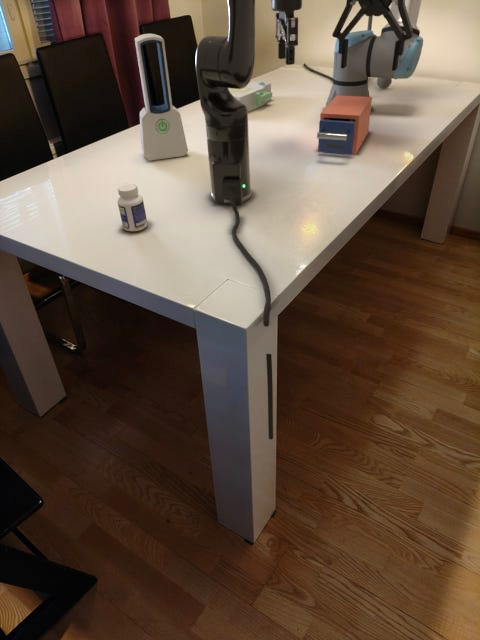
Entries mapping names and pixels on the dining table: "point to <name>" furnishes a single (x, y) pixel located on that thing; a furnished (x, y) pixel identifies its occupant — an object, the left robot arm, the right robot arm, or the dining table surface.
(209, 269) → the dining table surface
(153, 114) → the electronic device
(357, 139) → the cabinet
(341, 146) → the drawer
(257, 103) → the decorative block
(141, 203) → the pill bottle
